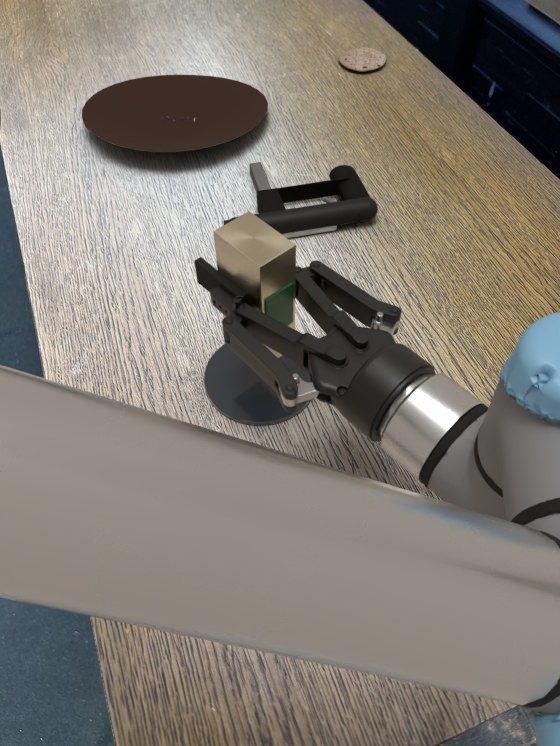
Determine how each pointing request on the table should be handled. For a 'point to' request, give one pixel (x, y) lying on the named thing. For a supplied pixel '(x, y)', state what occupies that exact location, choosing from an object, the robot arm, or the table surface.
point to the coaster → (246, 390)
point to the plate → (174, 112)
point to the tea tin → (259, 266)
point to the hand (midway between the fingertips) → (219, 258)
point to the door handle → (315, 217)
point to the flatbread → (362, 59)
